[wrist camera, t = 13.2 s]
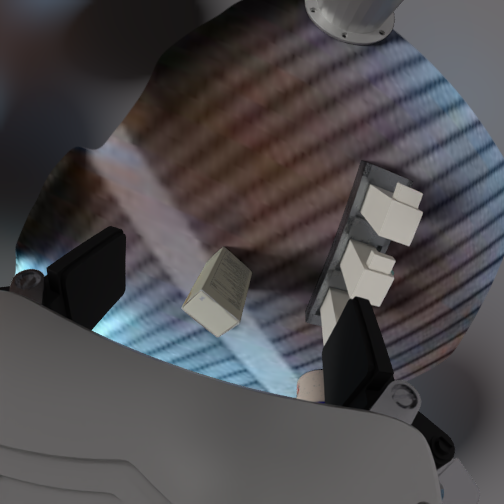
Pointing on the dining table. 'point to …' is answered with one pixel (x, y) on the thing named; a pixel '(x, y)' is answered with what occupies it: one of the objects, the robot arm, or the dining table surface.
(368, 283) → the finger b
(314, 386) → the teacup with lid
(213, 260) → the skincare box
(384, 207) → the cream block teal side
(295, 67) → the dining table surface
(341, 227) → the rail
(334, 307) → the finger loose
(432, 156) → the dining table surface
